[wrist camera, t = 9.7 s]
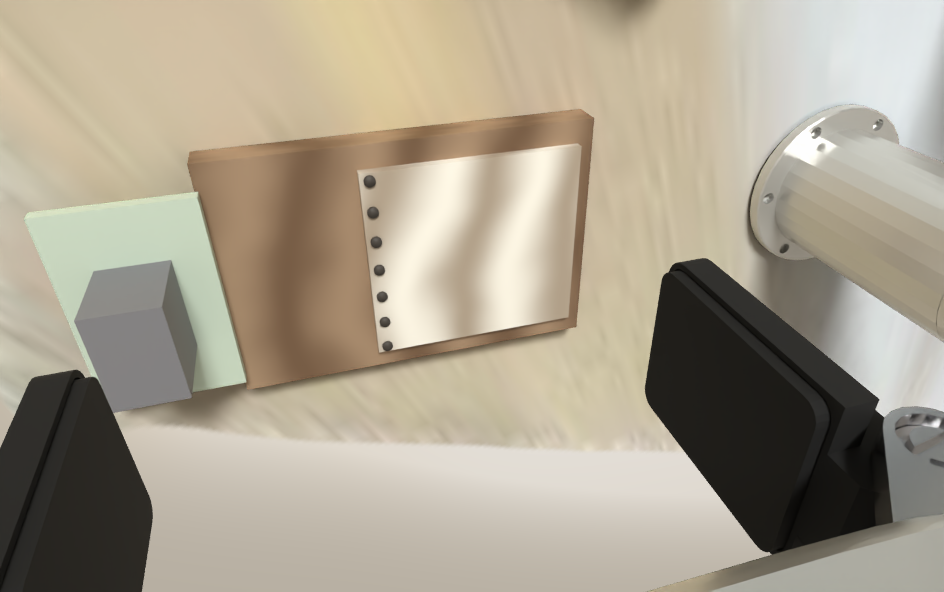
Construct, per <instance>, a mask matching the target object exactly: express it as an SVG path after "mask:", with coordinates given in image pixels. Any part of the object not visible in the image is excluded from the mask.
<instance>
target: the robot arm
mask: <svg viewBox="0 0 944 592" xmlns="http://www.w3.org/2000/svg"><path fill="white" fill-rule="evenodd" d="M750 219H751V226H752V229H753V232H754V235H755V237H756V238H757V240H758V241H759V243H760V244H761V245H762V246H763V247H765V248H766V249H767V250H768V251H770V252H771V253H773V254H774V255H776V256H778V257H780V258H784V259H788V260H805V259H811V258H815V257H816V258H817V259H819V260H820V261H822V262H823V263H825V264H826V265H828V266H829V267H831V268H832V269H834V270H835V271H837V272H838V273H840V274H841V275H843V276H844V277H846V278H847V279H849V280H850V281H852V282H853V283H855V284H856V285H858V286H859V287H861V288H862V289H864V290H865V291H867V292H868V293H870V294H871V295H873V296H874V297H876V298H877V299H879V300H880V301H882V302H883V303H885V304H886V305H888V306H889V307H891V308H892V309H894V310H895V311H897V312H898V313H900V314H901V315H903V316H904V317H906V318H908V319H909V320H911V321H912V322H914V323H915V324H917V325H918V326H920V327H921V328H923V329H924V330H926V331H927V332H929V333H930V334H932V335H933V336H935V337H936V338H938V339H939V340H941V341H943V342H944V163H943V162H941V161H938V160H936V159H933V158H931V157H928V156H926V155H923V154H921V153H918V152H916V151H913V150H911V149H909V148H906V147H904V146H901V145H899V139H898V134H897V132H896V129H895V127H894V125H893V124H892V122H891V121H890V120H889V119H888V118H887V116H885V115H883V114H882V113H880V112H879V111H877V110H874V109H871V108H868V107H866V106H861V105H853V104H849V105H841V106H836V107H833V108H830V109H827V110H824V111H822V112H820V113H818V114H816V115H814V116H812V117H810V118H809V119H807V120H806V121H804V122H803V123H802V124H800V125H799V126H798V127H796V128H795V129H794V130H793V131H792V132H791V133H790V134H789V135H788V136H787V137H786V138H785V139H783V140H782V142H781V143H780V144H779V145H778V147H777V148H776V149H775V150H774V151H773V153H772V154H771V155H770V157H769V159H768V160H767V162H766V164H765V165H764V167H763V168H762V170H761V173H760V175H759V177H758V179H757V182H756V184H755V187H754V191H753V195H752V198H751V207H750ZM645 394H646V398H647V401H648V403H649V405H650V407H651V408H652V409H653V411H654V412H655V413H656V415H657V416H658V417H659V419H660V420H661V421H662V423H663V424H664V425H665V427H666V428H667V429H668V430H669V432H670V433H671V434H672V436H673V437H674V438H675V440H676V441H677V442H678V444H679V445H680V446H681V447H682V449H683V450H684V451H685V453H686V454H687V455H688V457H689V458H690V459H691V461H692V462H693V463H694V464H695V466H696V467H697V468H698V470H699V471H700V472H701V474H702V475H703V476H704V478H705V479H706V480H707V481H708V483H709V484H710V485H711V487H712V488H713V489H714V491H715V492H716V493H717V495H718V496H719V497H720V498H721V500H722V501H723V502H724V504H725V505H726V506H727V508H728V509H729V510H730V512H732V514H733V515H734V517H735V518H736V519H737V521H738V522H739V523H740V525H741V526H742V527H743V529H744V530H745V531H746V532H747V534H748V535H749V536H750V538H751V539H752V540H753V542H754V543H755V544H756V545H757V546H758V548H760V549H761V550H762V551H765V552H770V553H771V554H772V555H770V556H767V557H763V558H759V559H756V560H753V561H749V562H746V563H743V564H739V565H736V566H732V567H729V568H726V569H722V570H719V571H715V572H712V573H708V574H705V575H701V576H698V577H695V578H691V579H688V580H685V581H681V582H678V583H674V584H671V585H667V586H664V587H660V588H657V589H654V590H651V591H647V592H944V412H942V411H939V410H936V409H931V408H924V407H917V406H915V407H901V408H899V409H896V410H893V411H891V412H890V413H889V414H888V415H887V416H886V417H885V418H884V417H883V416H882V415H881V414H879V413H878V412H877V411H876V410H875V409H876V406H877V404H878V401H879V399H878V398H877V397H876V396H875V395H873V394H872V393H871V392H870V391H869V390H867V389H866V388H865V387H864V386H862V385H861V384H860V383H859V382H858V381H856V380H855V379H854V378H853V377H852V376H850V375H849V374H848V373H847V372H845V371H844V370H843V369H842V368H841V367H839V366H838V365H837V364H836V363H835V362H833V361H832V360H831V359H830V358H828V357H827V356H826V355H825V354H824V353H822V352H821V351H820V350H819V349H817V348H816V347H815V346H814V345H813V344H811V343H810V342H809V341H808V340H807V339H805V338H804V337H803V336H802V335H800V334H799V333H798V332H797V331H796V330H794V329H793V328H792V327H791V326H789V325H788V324H787V323H786V322H785V321H783V320H782V319H781V318H780V317H779V316H777V315H776V314H775V313H774V312H772V311H771V310H770V309H769V308H768V307H766V306H765V305H764V304H763V303H761V302H760V301H759V300H758V299H757V298H755V297H754V296H753V295H752V294H751V293H749V292H748V291H747V290H746V289H744V288H743V287H742V286H741V285H740V284H738V283H737V282H736V281H735V280H733V279H732V278H731V277H730V276H729V275H727V274H726V273H725V272H724V271H723V270H721V269H720V268H719V267H718V266H716V265H715V264H714V263H713V262H712V261H710V260H708V259H706V258H701V259H696V260H690V261H685V262H679V263H675V264H674V265H672V267H671V268H670V271H669V272H668V273H666V274H665V275H664V276H663V278H662V282H661V289H660V295H659V301H658V308H657V314H656V320H655V327H654V333H653V340H652V346H651V352H650V359H649V365H648V371H647V378H646V384H645ZM152 519H153V513H152V505H151V500H150V497H149V495H148V492H147V490H146V488H145V485H144V483H143V481H142V479H141V476H140V474H139V472H138V469H137V467H136V465H135V462H134V460H133V458H132V455H131V453H130V451H129V449H128V446H127V444H126V442H125V439H124V437H123V435H122V432H121V430H120V428H119V426H118V423H117V421H116V419H115V416H114V414H113V412H112V409H111V407H110V405H109V403H108V400H107V398H106V396H105V393H104V391H103V389H102V386H101V384H100V382H99V381H98V379H97V378H96V377H88V378H85V377H84V375H83V374H82V373H81V372H80V371H78V370H72V371H66V372H60V373H55V374H49V375H43V376H38V377H34V378H32V379H31V381H30V382H29V384H28V386H27V389H26V391H25V393H24V395H23V398H22V400H21V402H20V404H19V407H18V409H17V411H16V414H15V416H14V418H13V421H12V423H11V425H10V427H9V429H8V432H7V434H6V436H5V439H4V441H3V443H2V445H1V448H0V592H142V585H143V580H144V573H145V567H146V560H147V553H148V547H149V540H150V533H151V527H152Z"/></svg>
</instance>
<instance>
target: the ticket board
mask: <svg viewBox="0 0 944 592" xmlns="http://www.w3.org/2000/svg"><path fill="white" fill-rule="evenodd" d="M593 126H594V118H593V117H591V116H590V115H589V114H587V113H586V112H584V111H583V110H581V109H578V110H569V111H560V112H551V113H542V114H532V115H523V116H514V117H505V118H496V119H487V120H477V121H468V122H459V123H450V124H441V125H432V126H422V127H413V128H404V129H395V130H386V131H377V132H367V133H358V134H349V135H340V136H331V137H322V138H312V139H303V140H294V141H285V142H276V143H267V144H257V145H248V146H239V147H230V148H221V149H212V150H202V151H193V152H190V153H189V158H188V163H187V165H188V169H189V173H190V176H191V180H192V184H193V188H194V191H195V192H198V193H199V197H200V201H201V204H202V208H203V212H204V216H205V220H206V223H207V227H208V231H209V235H210V239H211V242H212V246H213V250H214V254H215V258H216V261H217V265H218V269H219V273H220V276H221V280H222V284H223V288H224V292H225V295H226V299H227V303H228V307H229V311H230V314H231V318H232V322H233V326H234V330H235V333H236V337H237V341H238V345H239V349H240V352H241V356H242V360H243V364H244V368H245V371H246V382H245V383H246V386H247V390H249V389H255V388H260V387H265V386H270V385H275V384H281V383H286V382H291V381H296V380H302V379H307V378H312V377H317V376H322V375H328V374H333V373H338V372H343V371H349V370H354V369H359V368H364V367H370V366H375V365H380V364H385V363H390V362H396V361H401V360H406V359H411V358H417V357H422V356H427V355H432V354H437V353H443V352H448V351H453V350H458V349H464V348H469V347H474V346H479V345H484V344H490V343H495V342H500V341H505V340H511V339H516V338H521V337H526V336H532V335H537V334H542V333H547V332H552V331H558V330H563V329H568V328H573V327H576V323H577V312H578V300H579V289H580V277H581V265H582V254H583V242H584V230H585V219H586V207H587V195H588V184H589V172H590V161H591V149H592V137H593Z"/></svg>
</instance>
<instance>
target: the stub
mask: <svg viewBox="0 0 944 592" xmlns="http://www.w3.org/2000/svg"><path fill="white" fill-rule="evenodd" d="M24 221H25V223H26V225H27V228H28V230H29V232H30V235H31V237H32V239H33V242H34V244H35V246H36V249H37V251H38V253H39V256H40V258H41V260H42V262H43V265H44V267H45V269H46V272H47V274H48V276H49V279H50V281H51V283H52V286H53V288H54V290H55V293H56V295H57V297H58V300H59V302H60V304H61V307H62V309H63V311H64V314H65V316H66V318H67V321H68V323H69V325H70V327H71V330H72V332H73V334H74V337H75V339H76V341H77V344H78V346H79V348H80V351H81V353H82V355H83V358H84V360H85V362H86V365H87V367H88V369H89V372H90V374H91V376H92V377H96V378H97V379H98V381H99V382H100V384H101V386H102V389H103V391H104V393H105V396H106V398H107V400H108V403H109V405H110V407H111V409H112V412H113V413H115V412H120V411H126V410H131V409H136V408H141V407H147V406H152V405H157V404H162V403H168V402H173V401H178V400H183V399H189V398H192V392H197V391H203V390H208V389H213V388H219V387H224V386H229V385H235V384H240V383H245V382H246V371H245V368H244V364H243V360H242V356H241V352H240V349H239V345H238V341H237V337H236V333H235V330H234V326H233V322H232V318H231V314H230V311H229V307H228V303H227V299H226V295H225V292H224V288H223V284H222V280H221V276H220V273H219V269H218V265H217V261H216V258H215V254H214V250H213V246H212V242H211V239H210V235H209V231H208V227H207V223H206V220H205V216H204V212H203V208H202V204H201V201H200V197H199V193H198V192H191V193H183V194H175V195H167V196H159V197H150V198H142V199H134V200H126V201H118V202H110V203H102V204H93V205H85V206H77V207H69V208H61V209H53V210H44V211H36V212H28V213H27V215H26V216H25V218H24Z"/></svg>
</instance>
